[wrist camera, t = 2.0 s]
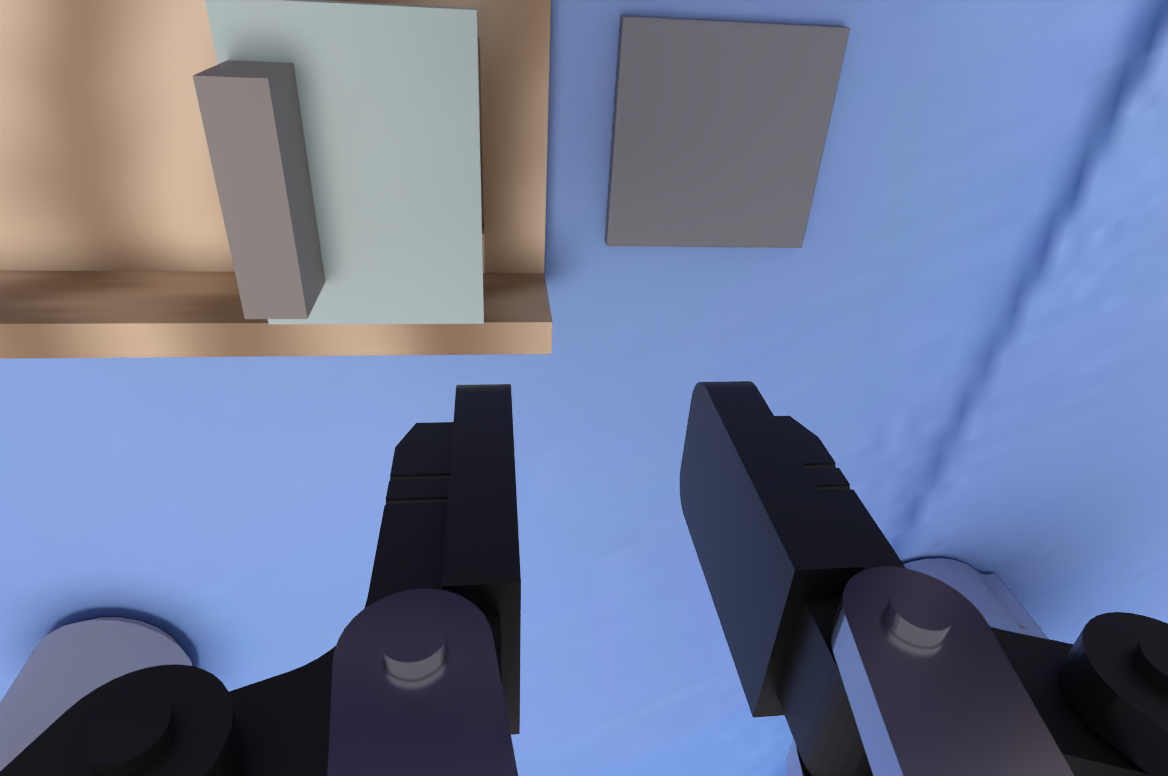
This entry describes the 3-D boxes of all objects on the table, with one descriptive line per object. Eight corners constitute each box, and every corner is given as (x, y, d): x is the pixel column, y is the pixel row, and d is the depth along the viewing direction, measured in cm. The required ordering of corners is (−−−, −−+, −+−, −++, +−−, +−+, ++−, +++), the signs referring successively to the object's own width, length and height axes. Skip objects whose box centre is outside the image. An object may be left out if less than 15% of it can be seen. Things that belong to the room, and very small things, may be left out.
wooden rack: (548, -59, 23) (564, -59, 18) (541, 286, 29) (551, 353, 25) (-145, -102, 21) (-337, -116, 16) (8, 284, 27) (-98, 359, 22)
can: (173, 597, 36) (49, 854, 26) (218, 691, 40) (127, 944, 30) (15, 614, 35) (-175, 884, 25) (78, 707, 39) (-65, 972, 29)
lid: (477, 8, 19) (475, 18, 16) (483, 315, 23) (483, 362, 21) (212, -6, 18) (164, 3, 15) (273, 315, 22) (244, 364, 20)
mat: (842, 26, 25) (850, 28, 25) (796, 242, 30) (801, 247, 29) (620, 15, 24) (623, 16, 24) (604, 240, 29) (606, 245, 28)
